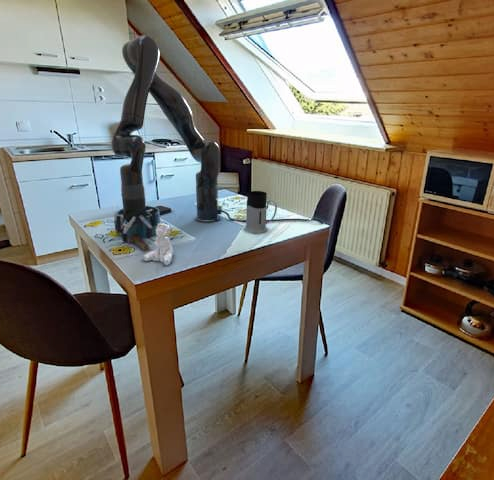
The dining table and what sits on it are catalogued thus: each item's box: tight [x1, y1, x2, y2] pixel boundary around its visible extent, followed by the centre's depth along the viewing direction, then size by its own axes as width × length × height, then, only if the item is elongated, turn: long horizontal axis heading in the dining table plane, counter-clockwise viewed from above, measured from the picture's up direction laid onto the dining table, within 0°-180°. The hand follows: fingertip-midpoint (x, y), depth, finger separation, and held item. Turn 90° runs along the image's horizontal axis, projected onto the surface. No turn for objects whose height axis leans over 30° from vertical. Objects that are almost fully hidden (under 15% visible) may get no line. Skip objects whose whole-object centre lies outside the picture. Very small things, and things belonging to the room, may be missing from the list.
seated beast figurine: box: [143, 222, 174, 266], centre depth 111 cm, size 10×9×12 cm
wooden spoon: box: [127, 236, 150, 252], centre depth 123 cm, size 13×4×2 cm, turn 36°
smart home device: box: [154, 205, 172, 216], centre depth 156 cm, size 8×2×20 cm
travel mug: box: [244, 190, 278, 234], centre depth 135 cm, size 9×14×15 cm, turn 44°
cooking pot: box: [115, 205, 161, 239], centre depth 135 cm, size 16×16×8 cm
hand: (137, 240), depth 123 cm, fingers open, 8 cm apart
